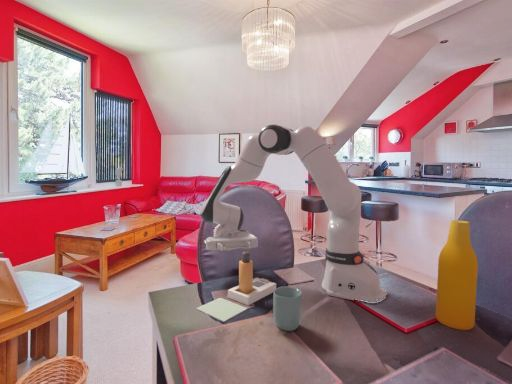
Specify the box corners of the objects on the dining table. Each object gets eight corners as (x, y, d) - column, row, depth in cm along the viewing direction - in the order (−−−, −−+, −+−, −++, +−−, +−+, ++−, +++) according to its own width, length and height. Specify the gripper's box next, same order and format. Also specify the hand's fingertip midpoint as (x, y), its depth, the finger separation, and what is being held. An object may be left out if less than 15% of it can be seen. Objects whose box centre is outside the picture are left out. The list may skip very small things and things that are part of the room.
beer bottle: (482, 332, 79) (488, 225, 77) (444, 329, 80) (449, 223, 78) (463, 315, 88) (469, 219, 86) (430, 313, 89) (434, 218, 87)
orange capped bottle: (255, 296, 98) (255, 252, 97) (246, 301, 95) (246, 255, 94) (245, 293, 101) (245, 250, 100) (236, 297, 97) (236, 252, 96)
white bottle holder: (256, 286, 109) (256, 275, 109) (276, 293, 103) (276, 281, 103) (227, 300, 98) (227, 288, 97) (248, 308, 92) (248, 295, 92)
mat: (247, 312, 89) (247, 308, 89) (223, 325, 82) (223, 321, 82) (220, 301, 97) (220, 297, 97) (195, 312, 89) (195, 308, 89)
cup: (303, 322, 83) (304, 288, 83) (298, 337, 76) (299, 299, 75) (277, 318, 86) (277, 284, 85) (269, 332, 79) (269, 295, 78)
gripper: (202, 232, 118) (207, 240, 105) (251, 230, 124) (262, 237, 111) (202, 248, 119) (207, 258, 106) (251, 245, 125) (261, 254, 112)
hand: (236, 247), depth 108 cm, fingers open, 8 cm apart
